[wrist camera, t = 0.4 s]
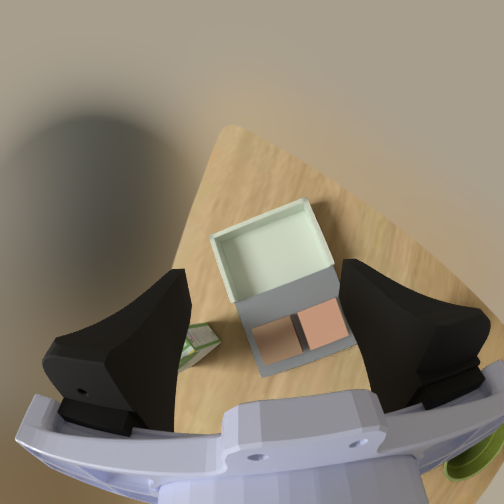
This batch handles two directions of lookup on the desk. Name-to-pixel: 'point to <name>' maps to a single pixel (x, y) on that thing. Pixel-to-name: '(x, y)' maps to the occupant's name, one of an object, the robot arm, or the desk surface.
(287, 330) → the walnut tile
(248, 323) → the slate board
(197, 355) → the ink box
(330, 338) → the terracotta tile
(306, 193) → the desk surface
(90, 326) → the robot arm
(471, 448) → the plant pot
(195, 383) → the desk surface
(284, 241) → the tray
